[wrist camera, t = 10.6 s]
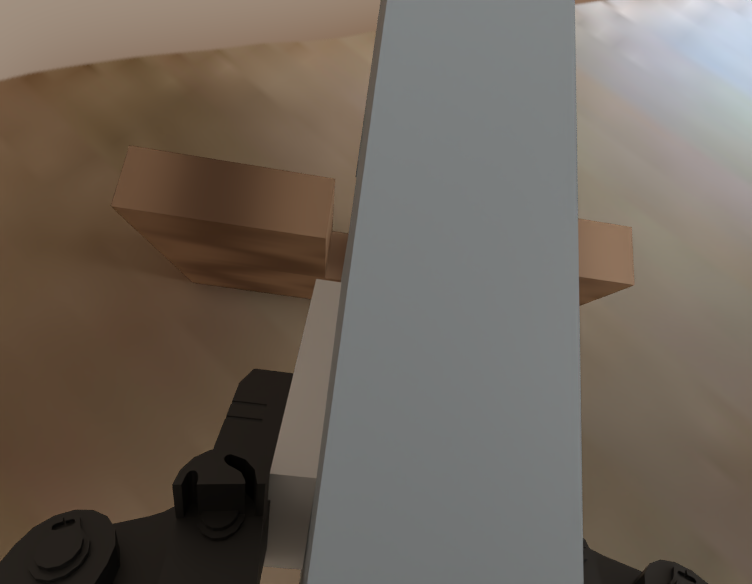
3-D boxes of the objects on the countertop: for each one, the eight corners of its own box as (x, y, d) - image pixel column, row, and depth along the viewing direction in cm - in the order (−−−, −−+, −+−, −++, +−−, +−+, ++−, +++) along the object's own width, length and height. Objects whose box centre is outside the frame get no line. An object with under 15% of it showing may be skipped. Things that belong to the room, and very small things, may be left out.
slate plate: (429, 26, 21) (567, -453, 9) (378, 530, 15) (589, 981, 3) (378, 15, 20) (454, -490, 9) (306, 523, 14) (252, 985, 3)
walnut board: (522, 289, 27) (631, 227, 18) (521, 327, 27) (634, 284, 17) (202, 242, 25) (129, 145, 16) (192, 282, 25) (110, 205, 15)
